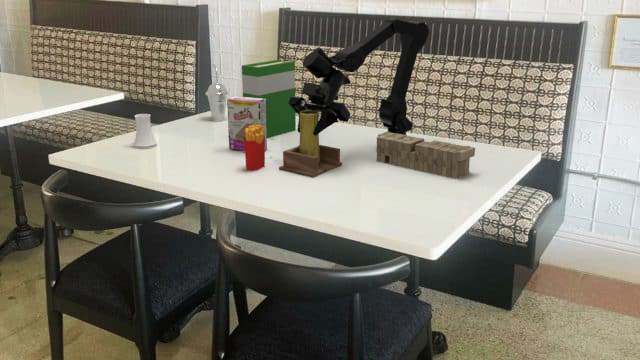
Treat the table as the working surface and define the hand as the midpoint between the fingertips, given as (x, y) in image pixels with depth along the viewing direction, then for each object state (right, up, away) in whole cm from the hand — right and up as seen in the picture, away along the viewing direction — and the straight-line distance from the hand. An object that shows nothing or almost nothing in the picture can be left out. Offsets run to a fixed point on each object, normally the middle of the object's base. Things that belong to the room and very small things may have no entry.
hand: (306, 133), depth 182 cm
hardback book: (-13, +3, +41) cm, 43 cm away
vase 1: (-52, -2, +26) cm, 59 cm away
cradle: (+2, -10, +3) cm, 10 cm away
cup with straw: (-34, +9, +61) cm, 70 cm away
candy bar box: (-19, -4, +22) cm, 29 cm away
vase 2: (+1, -8, +4) cm, 9 cm away
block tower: (+33, -10, +5) cm, 35 cm away
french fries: (-15, -10, +5) cm, 18 cm away
